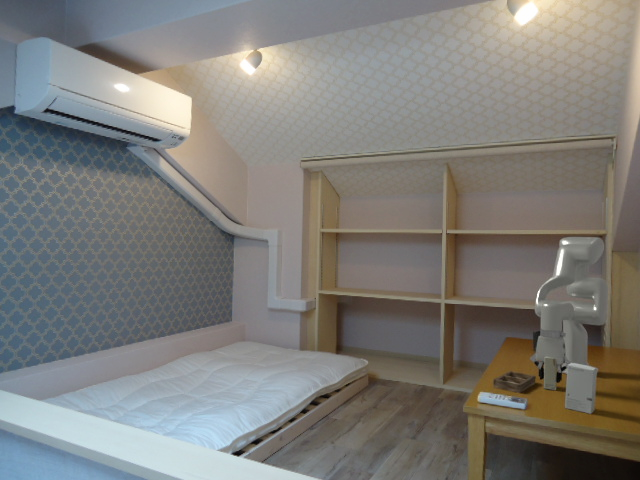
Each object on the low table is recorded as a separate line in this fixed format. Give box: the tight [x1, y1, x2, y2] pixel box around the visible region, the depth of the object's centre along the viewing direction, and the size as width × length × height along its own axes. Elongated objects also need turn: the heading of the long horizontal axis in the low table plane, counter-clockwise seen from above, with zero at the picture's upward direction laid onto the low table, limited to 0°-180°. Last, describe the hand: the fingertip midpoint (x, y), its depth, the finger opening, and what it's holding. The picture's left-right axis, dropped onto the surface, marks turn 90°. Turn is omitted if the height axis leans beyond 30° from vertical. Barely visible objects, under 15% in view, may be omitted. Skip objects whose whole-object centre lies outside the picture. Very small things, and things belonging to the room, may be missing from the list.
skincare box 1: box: [543, 357, 558, 391], centre depth 184 cm, size 6×4×12 cm
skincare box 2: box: [564, 363, 598, 415], centre depth 160 cm, size 8×6×15 cm
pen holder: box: [532, 330, 541, 352], centre depth 251 cm, size 9×9×10 cm
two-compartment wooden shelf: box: [493, 370, 536, 394], centre depth 186 cm, size 10×18×3 cm, turn 138°
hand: (550, 380), depth 184 cm, fingers closed on skincare box 1, 5 cm apart
